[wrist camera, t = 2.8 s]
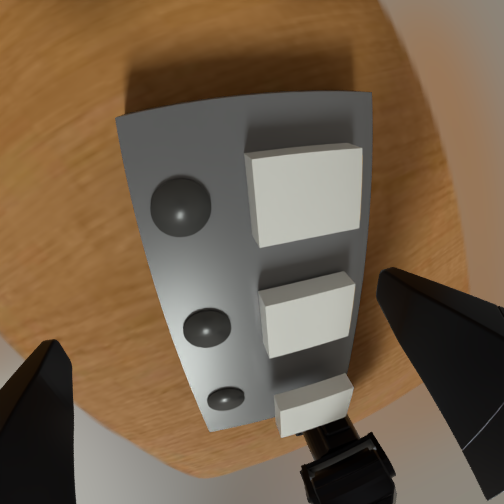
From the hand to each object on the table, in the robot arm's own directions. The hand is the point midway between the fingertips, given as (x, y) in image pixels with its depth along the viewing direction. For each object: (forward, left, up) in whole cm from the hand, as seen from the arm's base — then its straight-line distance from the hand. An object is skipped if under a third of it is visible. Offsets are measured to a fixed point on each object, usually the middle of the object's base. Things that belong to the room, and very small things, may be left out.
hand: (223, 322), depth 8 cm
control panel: (-8, -4, -12) cm, 15 cm away
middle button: (-8, -6, -9) cm, 13 cm away
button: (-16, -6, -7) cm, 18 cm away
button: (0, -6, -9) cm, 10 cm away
